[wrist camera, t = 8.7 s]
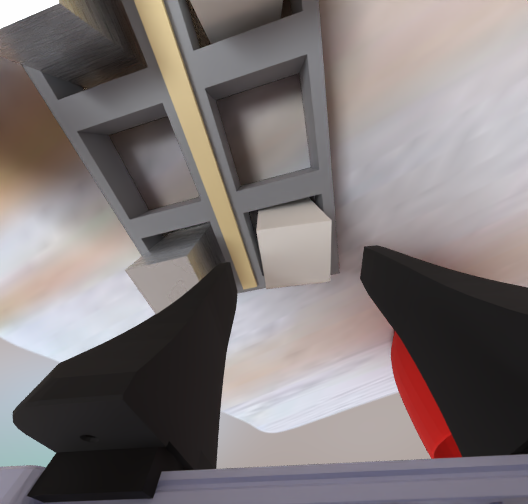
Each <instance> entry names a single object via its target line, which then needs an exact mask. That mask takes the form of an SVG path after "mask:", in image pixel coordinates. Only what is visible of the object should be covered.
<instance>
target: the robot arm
mask: <svg viewBox="0 0 528 504" xmlns="http://www.w3.org/2000/svg"><path fill="white" fill-rule="evenodd" d="M360 279H361V281H362V283H363V285H364V287H365V289H366V291H367V293H368V294H369V296H370V297H371V299H372V300H373V301H374V303H375V304H376V306H377V307H378V308H379V310H380V311H381V312H382V314H383V315H384V316H385V318H386V319H387V321H388V322H389V323H390V325H391V326H392V327H393V329H394V330H395V331H396V333H397V334H398V336H399V337H400V339H401V340H402V342H403V344H404V345H405V347H406V349H407V350H408V352H409V354H410V356H411V357H412V359H413V361H414V362H415V364H416V366H417V368H418V370H419V371H420V373H421V375H422V377H423V379H424V380H425V382H426V384H427V386H428V388H429V390H430V392H431V394H432V396H433V398H434V400H435V402H436V403H437V405H438V407H439V409H440V411H441V413H442V415H443V417H444V419H445V422H446V424H447V426H448V428H449V430H450V432H451V434H452V436H453V438H454V440H455V442H456V444H457V447H458V449H459V451H460V453H461V455H462V457H458V458H437V459H417V460H395V461H375V462H353V463H333V464H311V465H291V466H269V467H248V468H227V469H216V461H217V447H218V432H219V419H220V407H221V396H222V386H223V377H224V368H225V360H226V352H227V347H228V342H229V338H230V333H231V329H232V324H233V320H234V315H235V311H236V304H237V292H238V291H237V287H236V283H235V279H234V275H233V271H232V267H231V263H230V262H226V263H219V264H218V265H217V266H215V267H214V268H213V269H212V270H211V271H210V272H209V273H208V274H207V275H206V276H205V277H204V278H202V279H201V280H200V281H199V282H198V283H197V284H196V285H195V286H193V287H192V288H191V289H190V290H189V291H187V292H186V293H185V294H184V295H183V296H181V297H180V298H179V299H177V300H176V301H175V302H173V303H172V304H170V305H169V306H168V307H166V308H165V309H163V310H162V311H160V312H159V313H157V314H155V315H154V316H152V317H150V318H149V319H147V320H146V321H144V322H142V323H141V324H139V325H137V326H135V327H134V328H132V329H130V330H128V331H126V332H124V333H123V334H121V335H119V336H117V337H115V338H113V339H111V340H109V341H107V342H105V343H103V344H101V345H99V346H96V347H94V348H92V349H90V350H88V351H86V352H83V353H81V354H79V355H77V356H75V357H72V358H70V359H68V360H66V361H63V362H61V363H59V364H58V365H57V366H56V367H55V368H54V369H53V370H52V371H51V372H50V373H49V374H48V375H47V376H46V377H45V378H44V379H43V381H42V382H41V383H40V384H39V385H38V386H37V387H36V388H35V389H34V390H33V391H32V392H31V393H30V394H29V395H28V396H27V397H26V398H25V399H24V400H23V401H22V402H21V403H20V404H19V405H18V406H17V407H16V409H15V410H14V411H13V423H14V424H15V425H16V426H17V428H18V429H20V430H21V431H22V432H23V433H25V434H26V435H28V436H30V437H31V438H33V439H34V440H36V441H38V442H39V443H41V444H43V445H44V446H46V447H48V448H49V449H51V450H53V451H54V452H56V454H55V456H54V457H53V458H52V460H51V462H50V463H49V464H48V466H47V467H46V468H45V467H41V466H33V465H32V466H31V465H29V466H28V465H27V466H10V467H9V466H8V467H0V504H528V288H527V287H522V286H517V285H512V284H507V283H502V282H498V281H493V280H489V279H484V278H480V277H477V276H473V275H469V274H465V273H461V272H457V271H454V270H450V269H447V268H444V267H441V266H437V265H434V264H431V263H428V262H425V261H422V260H419V259H416V258H413V257H410V256H408V255H405V254H402V253H399V252H396V251H393V250H390V249H387V248H384V247H381V246H367V247H364V253H363V261H362V268H361V276H360Z"/></svg>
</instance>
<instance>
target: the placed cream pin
mask: <svg viewBox="0 0 528 504" xmlns="http://www.w3.org/2000/svg"><path fill="white" fill-rule="evenodd" d="M190 2H191V4H192V6H193V8H194V10H195V12H196V14H197V17H198V19H199V21H200V23H201V25H202V27H203V29H204V31H205V33H206V35H207V37H208V39H209V41H210V43H211V44H213V43H216V42H219V41H222V40H224V39H227V38H230V37H233V36H235V35H238V34H241V33H244V32H246V31H249V30H252V29H255V28H257V27H260V26H263V25H266V24H268V23H271V22H274V21H277V20H279V19H281V13H282V4H283V0H190Z"/></svg>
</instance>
